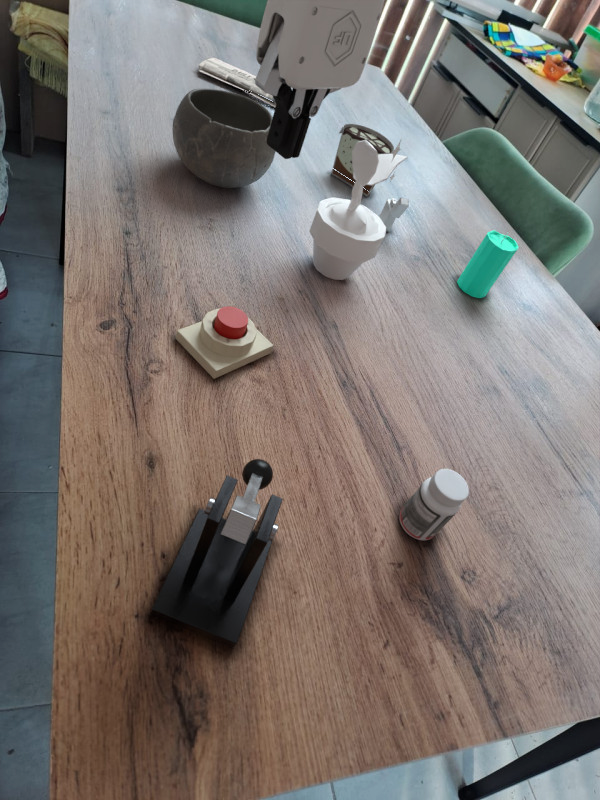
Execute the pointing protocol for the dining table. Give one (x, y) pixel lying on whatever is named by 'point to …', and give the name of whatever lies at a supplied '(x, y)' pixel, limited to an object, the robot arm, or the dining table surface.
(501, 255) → the candle
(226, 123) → the bowl
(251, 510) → the lever
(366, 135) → the food container
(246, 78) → the newspaper
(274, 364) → the dining table surface
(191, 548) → the bracket
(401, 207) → the white flat branched piece
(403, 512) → the pill bottle
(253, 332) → the button box
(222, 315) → the button
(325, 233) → the potted plant
